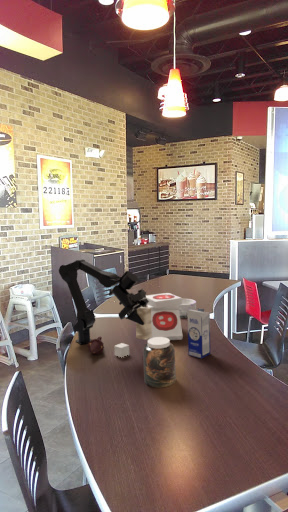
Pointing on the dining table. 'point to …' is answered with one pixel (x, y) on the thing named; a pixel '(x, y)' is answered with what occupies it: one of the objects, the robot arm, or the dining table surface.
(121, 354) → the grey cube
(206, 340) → the milk carton
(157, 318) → the pizza boxes
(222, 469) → the dining table surface
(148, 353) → the jar
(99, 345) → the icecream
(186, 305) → the paper bowls
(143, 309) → the birch block
